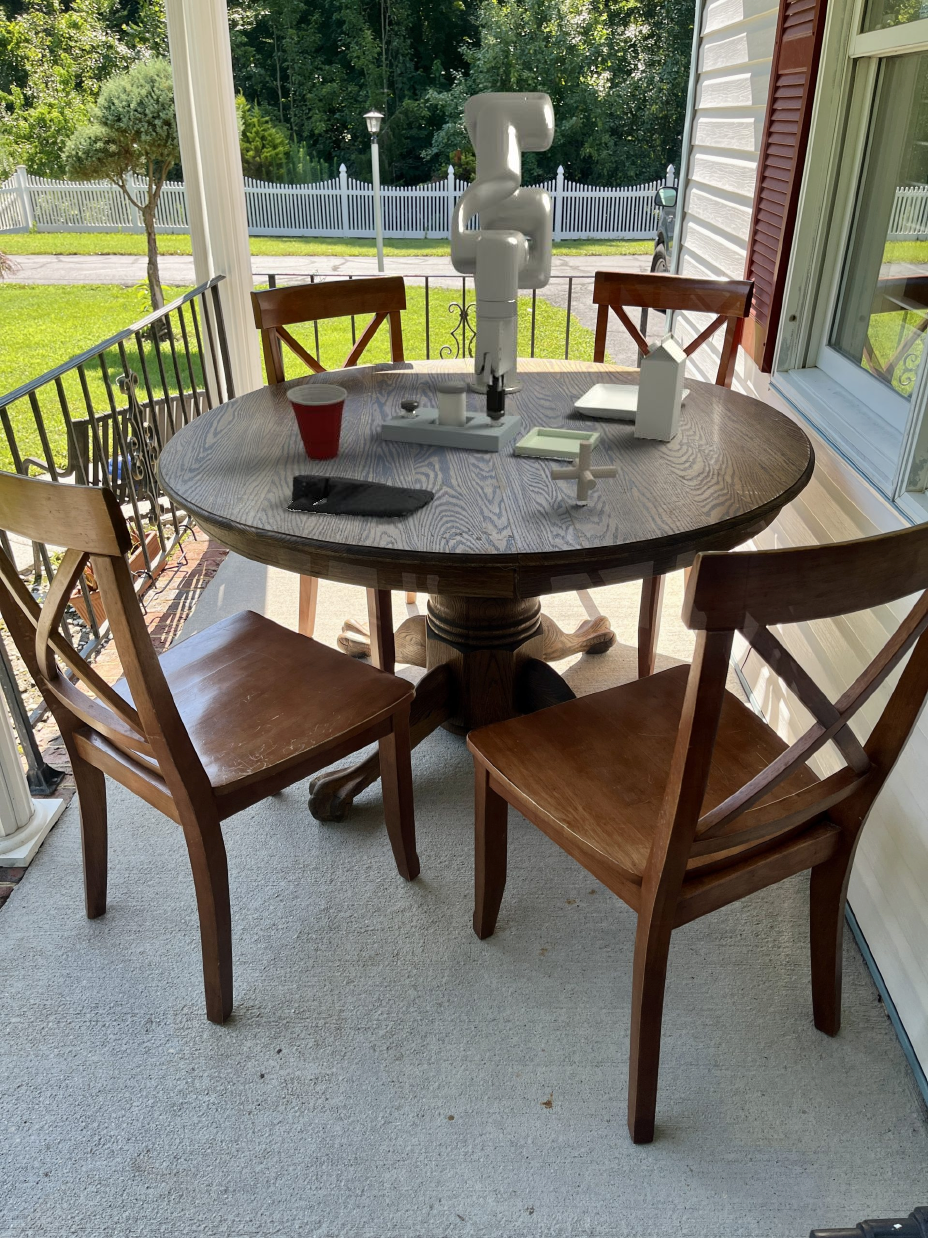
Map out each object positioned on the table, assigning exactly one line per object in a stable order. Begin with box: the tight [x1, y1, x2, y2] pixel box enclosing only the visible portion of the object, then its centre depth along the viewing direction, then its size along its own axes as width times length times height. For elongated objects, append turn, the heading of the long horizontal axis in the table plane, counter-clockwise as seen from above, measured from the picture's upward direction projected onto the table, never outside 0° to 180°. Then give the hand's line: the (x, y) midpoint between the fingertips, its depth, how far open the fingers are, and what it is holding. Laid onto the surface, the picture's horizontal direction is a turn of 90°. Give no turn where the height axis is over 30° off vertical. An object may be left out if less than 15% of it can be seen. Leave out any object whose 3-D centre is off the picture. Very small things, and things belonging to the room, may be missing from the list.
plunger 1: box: [400, 399, 420, 419], centre depth 168 cm, size 4×4×6 cm
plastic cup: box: [286, 383, 348, 461], centre depth 154 cm, size 11×11×12 cm
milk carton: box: [633, 331, 688, 441], centre depth 161 cm, size 7×7×19 cm
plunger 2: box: [485, 408, 506, 427], centre depth 163 cm, size 4×4×6 cm
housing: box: [381, 406, 522, 452], centre depth 166 cm, size 14×24×3 cm, turn 69°
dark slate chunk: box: [286, 474, 436, 519], centre depth 135 cm, size 15×22×5 cm
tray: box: [514, 426, 601, 459], centre depth 159 cm, size 13×13×2 cm
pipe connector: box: [550, 441, 618, 501], centre depth 132 cm, size 10×10×10 cm
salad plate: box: [573, 383, 690, 421], centre depth 182 cm, size 21×21×3 cm
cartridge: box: [436, 380, 468, 427], centre depth 165 cm, size 6×6×10 cm
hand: (495, 410), depth 161 cm, fingers closed
